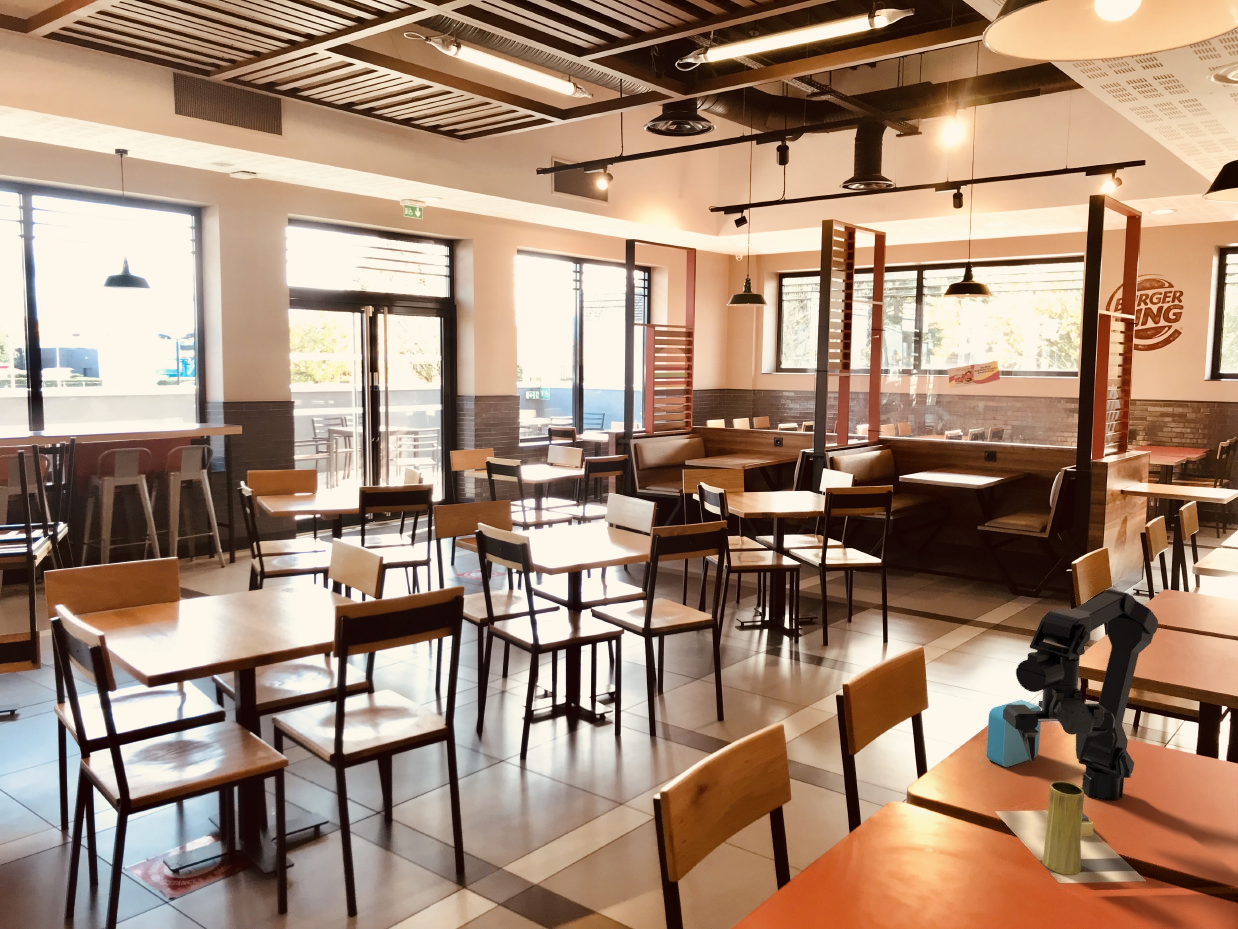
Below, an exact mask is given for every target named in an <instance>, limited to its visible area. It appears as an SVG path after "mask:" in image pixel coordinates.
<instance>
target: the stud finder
mask: <svg viewBox="0 0 1238 929" xmlns="http://www.w3.org/2000/svg"><path fill="white" fill-rule="evenodd" d="M1093 831H1094V822H1093V821H1091V819H1089V817H1088V816H1087V815H1086V814H1085V813H1084V812H1083V814H1082V826H1081V836H1093Z"/></svg>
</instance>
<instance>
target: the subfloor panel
mask: <svg viewBox="0 0 1238 929" xmlns="http://www.w3.org/2000/svg"><path fill="white" fill-rule="evenodd" d="M995 813H996V815H997V816H998V817H999V818H1000V819H1001V820H1002V821H1003V822H1004V823H1005V824H1006V825H1007V827H1008V828H1009V829H1010V830H1011V831H1012V833H1014V834H1015V835H1016V837H1017V838H1018V839H1019V840H1020V841H1021V842H1022V844H1023V845H1025V847H1026V848H1027V849H1028V850H1029V851H1030V852H1031V853H1032V855H1033V856H1034V857H1035V858H1036V859H1037V860H1038V861H1039V862H1040V864H1041V865H1042V866H1043V867H1044V868H1045V869H1046V870H1047V871H1048V872H1049V873H1050V874H1051V876H1052V877H1053V878H1054V879H1055V880H1056V881H1057V882H1058V883H1059V884H1084V883H1086V884H1088V883H1089V884H1091V883H1128V882H1131V883H1132V882H1134V883H1135V882H1147V880H1146V879H1145V878H1144V877H1143V876H1142V875H1140V873H1138V872H1137V871H1136V870H1135V869H1134V868H1133V867H1132V866H1131V865H1130V864H1129V863H1128V862H1127V861H1126V860H1125V859H1123V857H1122V856H1120V855H1119V854H1118V853H1117V851H1115V850H1114V849H1113V848H1112V847H1111V846H1110V845H1109V844H1108V843H1106V842H1105V841H1104V840H1103V839H1102V838H1101V836H1099V835H1098V834H1097V833H1096V832H1095V831H1094V830H1093V836H1081V871H1080V872H1079V873H1077V874H1074V875H1065V874H1060V873H1056V872H1054V871H1052V870H1050V869H1048V868H1047V867H1046V866H1045V865H1044V864H1043V862H1042V858H1043V855H1044V845H1045V835H1046V826H1047V816H1048V809H1047V810H1044V809H1043V810H1042V809H1041V810H1011V811H1010V810H1004V811H1003V810H999V811H998V810H995Z"/></svg>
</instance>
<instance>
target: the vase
mask: <svg viewBox="0 0 1238 929" xmlns="http://www.w3.org/2000/svg"><path fill="white" fill-rule="evenodd" d="M1048 796H1049V797H1048V798H1049V799H1048V806H1047V807H1048V808H1047V810H1048V816H1047V826H1046V835H1045V845H1044V855H1043V858H1042V862H1043V864H1044V865H1045V866H1046V867H1047V868H1048V869H1050V870H1052V871H1054V872H1056V873H1060V874H1065V875H1074V874H1077V873H1079V872H1080V871H1081V826H1082V814H1083V813H1084V811H1083V810H1084V801H1085V800H1084V799H1085V794H1084V791H1083V789H1082V786H1079V785H1078V784H1076V783H1073V782H1070V781H1066V780H1056V781H1052V782H1051V783H1050V785H1049V794H1048Z"/></svg>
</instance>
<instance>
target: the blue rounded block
mask: <svg viewBox="0 0 1238 929" xmlns="http://www.w3.org/2000/svg"><path fill="white" fill-rule="evenodd" d="M1007 705H1026V706H1027V707H1028V708H1030V709H1031V710H1032V711H1042V708H1041V707H1039V706H1038V705H1036V704H1033V703H1031V702H1029V701H1025V700H1023V699H1019V700H1015V701H1012V702H1008V703H1006V704H1005V703H1004V704H1001V705H999V706H998V705H997V706H995V707H993V708H991V709H990V711H989V713H988V723H987V726H988V727H987V740H986V741H987V743H986V758H987V759H988V760H989V761H991V762H993V763H995V764H998V765H1000V766H1002V767H1004V768H1009V766H1010V767H1012V766H1016V765H1018V764H1021V763H1024V762H1026V761H1031V760H1030V759H1029V757H1028V755H1027V752H1026V749H1025V746H1024V744H1023V741H1022V738H1021V736H1020V734H1019V732H1018V730H1017V729H1015V728H1014V727H1013V726H1011V725H1010V724H1009V723H1008V722H1007V721H1006V720H1005V719H1003V710H1004V708H1005V707H1006V706H1007ZM1041 723H1042V722H1038V726H1037V727H1036V728H1035V729H1036V730H1037V731H1038V734H1037V735H1036V736H1035V756H1034V759H1035V758H1036V757H1037V756H1038V754H1039V752H1040V751H1039V750H1040V740H1041V739H1040V737H1041Z"/></svg>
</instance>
